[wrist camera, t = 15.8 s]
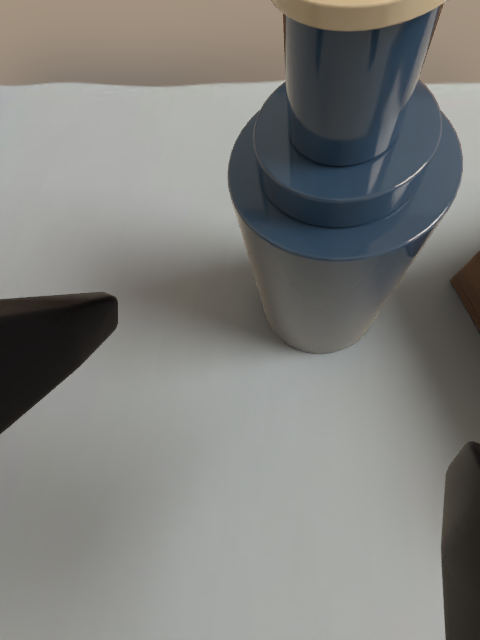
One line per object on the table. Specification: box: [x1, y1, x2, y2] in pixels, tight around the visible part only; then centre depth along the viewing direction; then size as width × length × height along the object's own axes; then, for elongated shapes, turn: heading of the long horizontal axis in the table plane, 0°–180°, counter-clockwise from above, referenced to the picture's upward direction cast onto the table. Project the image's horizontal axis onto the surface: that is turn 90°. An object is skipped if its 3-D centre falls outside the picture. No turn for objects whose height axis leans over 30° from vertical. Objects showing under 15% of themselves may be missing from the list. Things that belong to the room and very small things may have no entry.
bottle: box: [228, 0, 463, 354], centre depth 11 cm, size 6×6×14 cm
